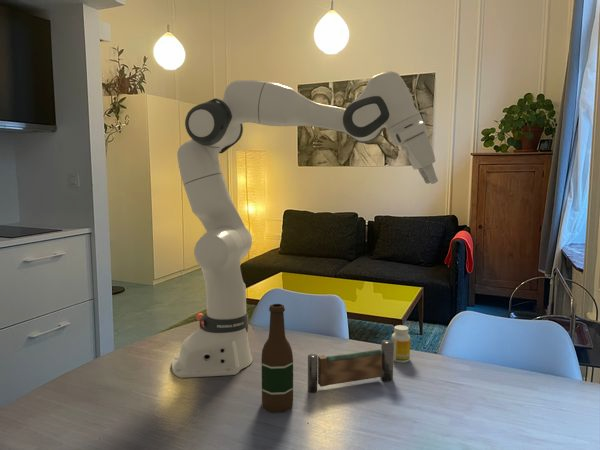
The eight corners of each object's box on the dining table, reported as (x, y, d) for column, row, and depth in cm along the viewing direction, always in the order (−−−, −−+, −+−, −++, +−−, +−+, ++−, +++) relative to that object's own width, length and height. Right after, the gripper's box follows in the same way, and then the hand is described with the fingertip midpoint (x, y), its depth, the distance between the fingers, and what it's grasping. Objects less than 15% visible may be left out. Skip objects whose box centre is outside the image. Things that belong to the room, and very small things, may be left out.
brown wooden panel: (377, 373, 121) (378, 347, 120) (381, 377, 119) (382, 350, 118) (317, 383, 115) (318, 355, 115) (320, 386, 114) (320, 358, 113)
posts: (389, 375, 123) (390, 339, 121) (395, 380, 120) (396, 343, 118) (305, 388, 115) (305, 350, 114) (310, 394, 112) (310, 355, 111)
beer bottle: (268, 417, 102) (268, 312, 99) (255, 401, 109) (254, 303, 106) (299, 408, 105) (300, 307, 103) (285, 394, 112) (284, 298, 109)
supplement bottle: (387, 358, 134) (387, 326, 132) (398, 354, 137) (399, 323, 136) (401, 364, 129) (402, 332, 128) (413, 359, 133) (414, 327, 132)
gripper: (394, 142, 125) (416, 187, 126) (399, 134, 105) (425, 189, 105) (416, 131, 124) (437, 177, 124) (425, 122, 104) (451, 177, 104)
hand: (432, 182), depth 115 cm, fingers open, 8 cm apart
